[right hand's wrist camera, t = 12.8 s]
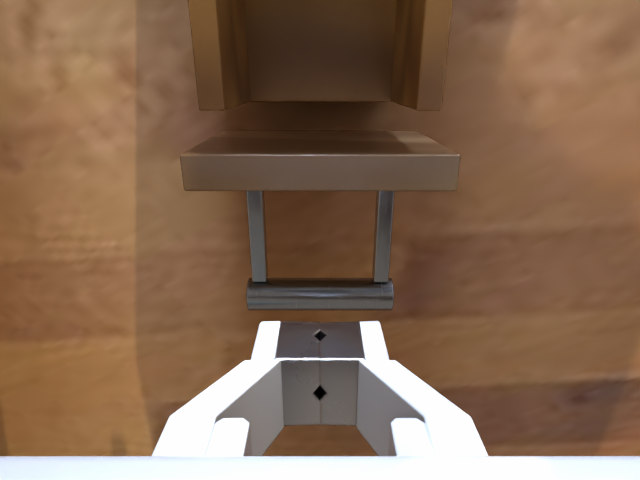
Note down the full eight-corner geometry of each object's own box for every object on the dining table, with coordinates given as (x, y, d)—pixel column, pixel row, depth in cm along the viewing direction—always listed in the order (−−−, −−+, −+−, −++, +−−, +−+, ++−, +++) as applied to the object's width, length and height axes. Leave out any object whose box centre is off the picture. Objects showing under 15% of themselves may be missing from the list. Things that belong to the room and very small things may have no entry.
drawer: (406, 265, 21) (438, 336, 15) (234, 264, 21) (201, 336, 15) (457, -341, 13) (565, -667, 8) (183, -341, 13) (76, -667, 8)
